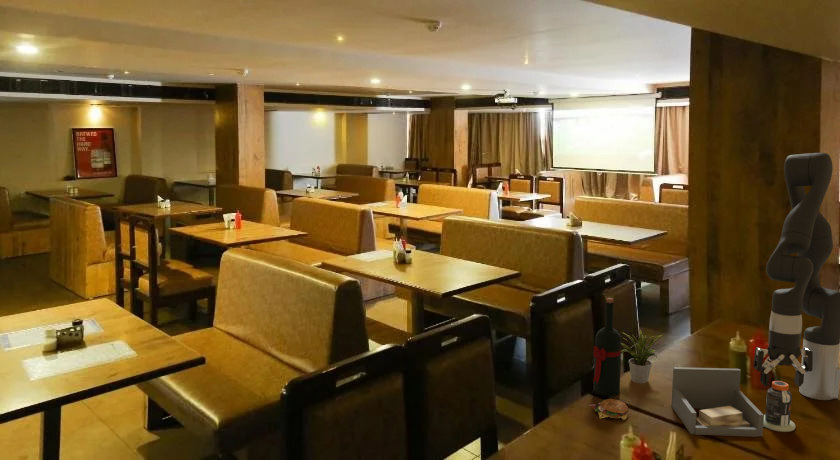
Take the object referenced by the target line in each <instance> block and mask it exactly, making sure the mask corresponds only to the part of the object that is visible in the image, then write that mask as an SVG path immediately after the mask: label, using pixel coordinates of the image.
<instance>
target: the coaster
mask: <svg viewBox="0 0 840 460" xmlns="http://www.w3.org/2000/svg"><path fill="white" fill-rule="evenodd" d="M763 415H764V422H763V428H765V429H768V430H771V431H774V432H775V431H776V432H781V433H782V432H783V433H789V432H793V431H795V429H796V424H795V422H793V420H791V419H790V424H789V425H787V426H776V425H773V424H770V423H768V422H767V421H766V420H765V414H763Z"/></svg>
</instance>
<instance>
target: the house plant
mask: <svg viewBox="0 0 840 460" xmlns="http://www.w3.org/2000/svg"><path fill="white" fill-rule="evenodd" d="M623 334H624V335H626V337H628V338H629V339H630V341H631V344H632V347H633V348H631V347H630V346H628V345H626V344H625V343H622V342H621V347H622V348H623V349H621V352H628V353H629V354H630V355H631V357H632V358H630V359H628V366H629V374H630V380H631V381H632V382H634V383H637V384H646V383H648V381H649V377H650V373H651V370H652V365H653V364H652V361H651V360H649V358H650V357H653V356H654V357H656V359H657V354H656V353H655V352H656V350H655V349H654V348H653V349H652V347H653V346H652V345H653V344H654V343H655V342H656V341H657V340H658V339H659V338H660V337H662V336H664V334H659V335H657V336H654V335H651V336H649V337H648V338H647V335H645V336H644V334H643V332H642V330H641V329H639V333H638V339H637V337H635V336H631V335H629V334H628V333H624V332H623ZM651 338H652V339H651ZM622 339H624V340H626V341H627V339H626V338H624V337H622ZM650 339H651V340H650ZM649 340H650V342H649V344H648V346H647V343H648V341H649ZM658 343H659V341H657V342H656V344H658ZM646 346H647V347H646Z"/></svg>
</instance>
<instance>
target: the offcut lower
mask: <svg viewBox="0 0 840 460" xmlns="http://www.w3.org/2000/svg"><path fill="white" fill-rule="evenodd" d="M696 426H710V425H708V424H707V423H705V422H703V421H702V420H700V419H699V416H698V417H697V416H696ZM715 426H725V427H750V424H749V423H748V422H747V421H745V420H744V419H743V418H742V421H741V422H735V423H728V424H721V425H715Z"/></svg>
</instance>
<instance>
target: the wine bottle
mask: <svg viewBox="0 0 840 460" xmlns="http://www.w3.org/2000/svg"><path fill="white" fill-rule="evenodd" d="M614 299H615V298H613V297H606V298H605V300H606V302H605V318H604V319H605V321H604V322H605V324H604V327H602V328H601V329H599V330H598V331H597V332H596V335H595V342H594V343H595V345H594V346H593V351H592V352H593V359H594V365H593V366H594V367H593V370H594V372H593V380H592V383H593V388H592V390H593V392H594V393H595V394H597V395H599V396H601V397H616V396H619V395H620V393H621V390H620V389H621V368H622V367H621V365H622V364H621V363H622V362H621V360H622V358H621V357H622V351H621V350H622V345H621V343H622V336H621V334H620V333H619V331H618V330H617V329H616V328H614V326H613V325H614V323H613V322H614V321H613V320H614Z"/></svg>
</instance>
